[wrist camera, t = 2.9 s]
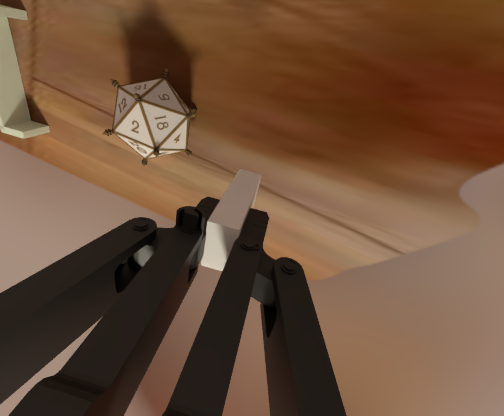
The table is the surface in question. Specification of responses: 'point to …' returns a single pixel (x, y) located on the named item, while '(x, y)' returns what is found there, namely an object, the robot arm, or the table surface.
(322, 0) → the table surface
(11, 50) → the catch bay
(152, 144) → the game die
